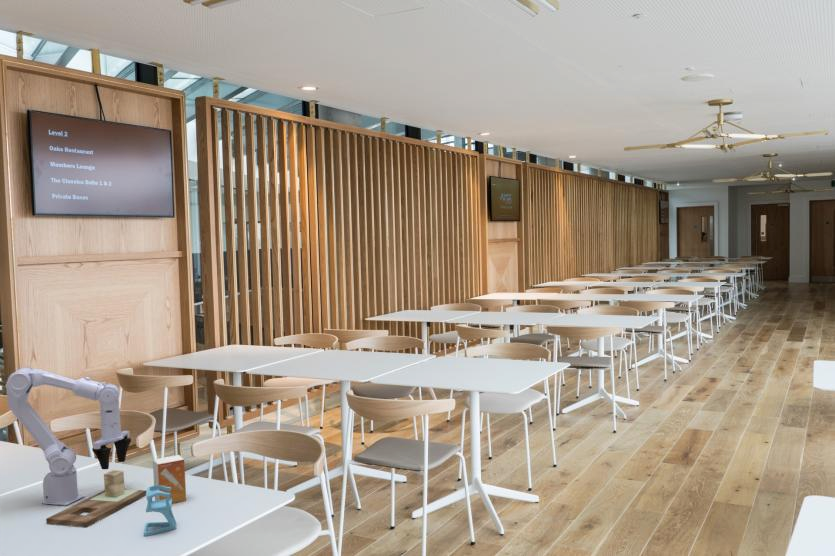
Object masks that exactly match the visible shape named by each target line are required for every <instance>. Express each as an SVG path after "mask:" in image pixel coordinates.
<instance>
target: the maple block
mask: <svg viewBox="0 0 835 556" xmlns="http://www.w3.org/2000/svg"><path fill="white" fill-rule="evenodd" d="M124 474H125V473H124V470H116V469H115V470H110V471H108V472H105V473H104V474H103V482H104V483H103V484H104V485H103V486H104V490H105V497H115V498H116V497H118V496H120V495H122V494H124V493H125V489H126V488H125V475H124Z"/></svg>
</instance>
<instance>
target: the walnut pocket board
mask: <svg viewBox="0 0 835 556" xmlns="http://www.w3.org/2000/svg"><path fill="white" fill-rule="evenodd" d="M125 489H126V490H131V489H129V488H125ZM138 490H139V491H138V492H137V493H135V494H133V495H131V496H129V497H127V498H125V499H123V500H121V501H119V502H117V503H116V502H103V501H90V499H92V498H94V497H96V496H98V495H100V494H102V493H104V492H105V489H104V490H102V491H100V492H99V493H96V494H94V495H92V496H89V497H88V498H86V499H84V500H81V501H80V502H77V503H76V504H73V505H72V506H69V507H68V508H65V509H63V510H61V511H59V512H57V513H55V514H53V515H51V516H48V517H47V518H46V519H45V520H46V521H45V522H46V525H47V524H48V525H55V524H56V525H58V526H66V525H70V527H78V526H83V527H82V528H89V527H90V526H92V525H94V524H96V523H98V522H100V521H102V520H103V519H105V518H107V517H109V516H111V515H113V514H114V513H116V512H118V511H120V510H122V509H124V508H125V507H127V506H130V505H131V504H133V503H135V502H137V501H138V500H141V499H142V498H144V497H146V490H143V489H138ZM140 498H141V499H140ZM83 513H87V514H83ZM99 520H100V521H99ZM97 521H98V522H97ZM95 522H96V523H95ZM56 525H55V526H56ZM71 525H72V526H71ZM89 525H90V526H89Z"/></svg>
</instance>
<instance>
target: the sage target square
mask: <svg viewBox="0 0 835 556" xmlns="http://www.w3.org/2000/svg"><path fill="white" fill-rule="evenodd" d="M126 489H127V488H125V493H124V494H122V495H120V496H118V497H116V498H115V497H105V492H104V493H102V494H100V495H98V496H96V497H94V498H92V499H90V501H103V502H116V503H117V502H119V501H121V500H123V499H125V498H127V497H129V496H131V495H133V494H135V493H137V492H138V491H139V490H140V489H130V490H126Z"/></svg>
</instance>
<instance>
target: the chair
mask: <svg viewBox="0 0 835 556" xmlns="http://www.w3.org/2000/svg"><path fill="white" fill-rule="evenodd" d="M157 489H164V490H166V491H168V492H167V493H165V492H163V491H159V490H157ZM170 490H171V487H165V486H162V485H155V486H154V485H151V486H149V487H147V488H146V490H145V491H146V496H145V497H146V501H147V503H146V507H145V512H146V513H152V512H154V513H161V514H162V515H163V516H164V517H165V519H166V521H158V522H157V521H156V522H155V521H151V522H145V524H144V530H143V537H148V536H152V535H155V534H160V533H163V532H167V531H171V530H175V529H177V521H176V519H175V516H174V513H173V511H172V505H173V503H172V499H170V494H171V493H170ZM155 496H165V497H167V498H166V499H165V500H158V501H155V500H153V498H155ZM149 527H160V528H155V529H152V530H148V528H149Z"/></svg>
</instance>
